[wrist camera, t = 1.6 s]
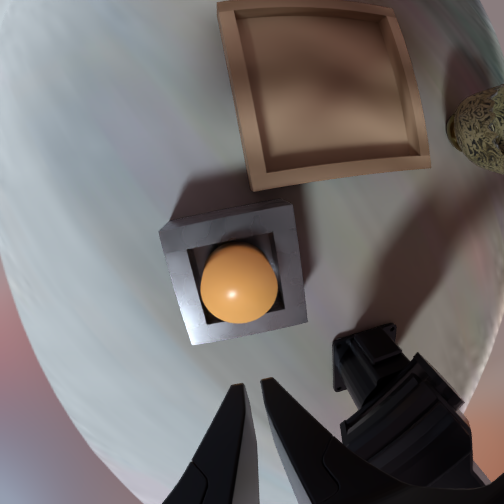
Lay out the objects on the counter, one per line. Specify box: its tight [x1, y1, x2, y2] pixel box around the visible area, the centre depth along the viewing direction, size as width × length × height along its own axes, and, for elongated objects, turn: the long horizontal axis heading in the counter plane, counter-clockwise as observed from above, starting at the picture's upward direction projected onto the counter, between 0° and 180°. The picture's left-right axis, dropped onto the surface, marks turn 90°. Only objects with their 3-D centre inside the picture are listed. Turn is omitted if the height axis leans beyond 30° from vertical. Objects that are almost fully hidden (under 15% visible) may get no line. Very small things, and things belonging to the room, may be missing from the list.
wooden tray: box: [217, 0, 431, 192], centre depth 17 cm, size 14×14×2 cm
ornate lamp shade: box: [447, 84, 504, 175], centre depth 16 cm, size 8×7×8 cm
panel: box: [159, 199, 308, 345], centre depth 19 cm, size 8×8×4 cm
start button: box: [201, 242, 278, 323], centre depth 17 cm, size 4×4×2 cm
